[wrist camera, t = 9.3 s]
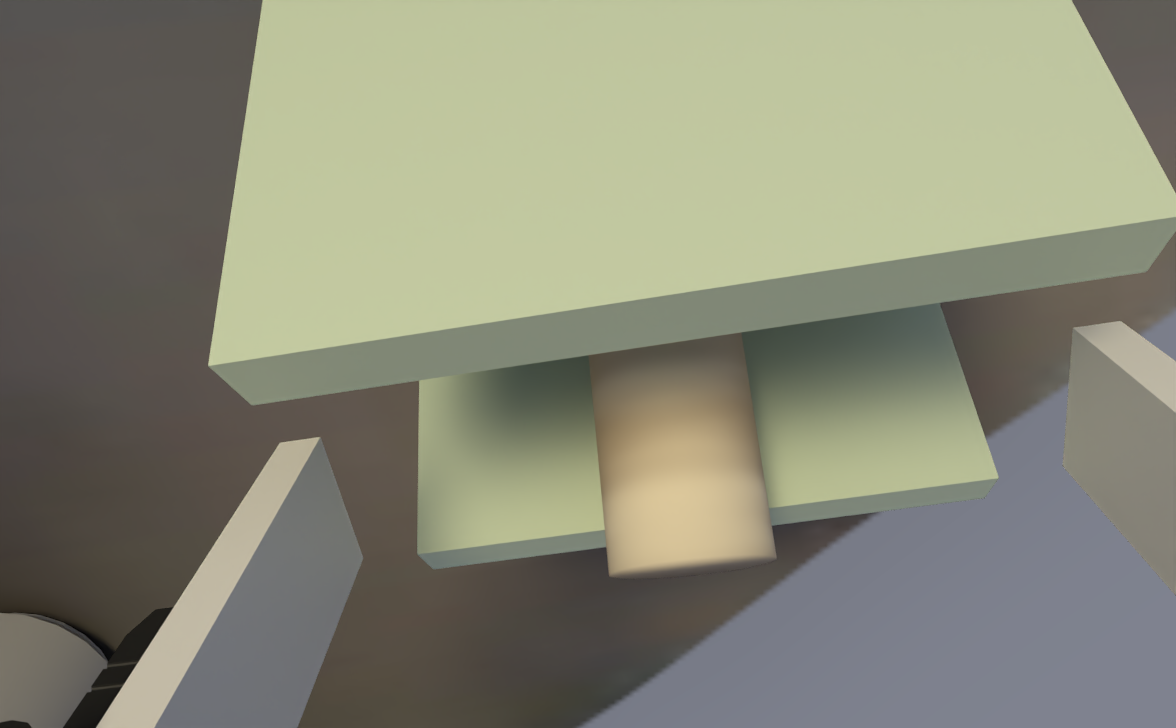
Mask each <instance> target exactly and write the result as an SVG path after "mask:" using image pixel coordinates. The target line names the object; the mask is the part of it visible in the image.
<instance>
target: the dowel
mask: <svg viewBox="0 0 1176 728" xmlns="http://www.w3.org/2000/svg"><path fill="white" fill-rule="evenodd" d="M589 366H590V377H591V387H592V398H593V409H594V420H595V430H596V441H597V452H598V462H599V473H600V484H601V494H602V505H603V516H604V527H605V537H606V548H607V559H608V569H609V576H610V577H613V578H619V579H656V578H672V577H684V576H695V575H704V574H712V573H720V572H727V571H733V570H739V569H745V568H750V567H755V566H759V565H763V564H767V563H770V562H773V561H775V560H776V559H777V556H776V550H775V543H774V537H773V531H772V524H771V518H770V512H769V505H768V499H767V493H766V486H765V480H764V474H763V467H762V461H761V455H760V448H759V442H758V436H757V429H756V423H755V417H754V410H753V404H752V398H751V391H750V385H749V379H748V372H747V366H746V360H745V353H744V347H743V341H742V334H741V332H740V333H734V334H727V335H720V336H714V337H707V338H700V339H694V340H687V341H680V342H673V343H667V344H660V345H653V346H647V347H640V348H633V349H627V350H620V351H613V352H606V353H600V354H593V355H589Z"/></svg>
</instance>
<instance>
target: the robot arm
mask: <svg viewBox="0 0 1176 728" xmlns="http://www.w3.org/2000/svg"><path fill="white" fill-rule="evenodd" d="M1063 467H1064V468H1065V469H1066V471H1067V472H1068V473H1069V474H1070V475H1071V476H1072V477H1073V479H1074V480H1075V481H1076V482H1077V483H1078V484H1079V485H1080V487H1081V488H1082V489H1083V490H1084V491H1085V492H1086V493H1087V495H1088V496H1089V497H1090V498H1091V499H1092V500H1093V501H1094V502H1095V504H1096V505H1097V506H1098V507H1099V508H1100V509H1101V510H1102V512H1103V513H1104V514H1105V515H1106V516H1107V517H1108V519H1109V520H1110V521H1111V522H1112V523H1113V524H1114V525H1115V527H1116V528H1117V529H1118V530H1119V531H1120V532H1121V534H1122V535H1123V536H1124V537H1125V538H1126V539H1127V540H1128V542H1129V543H1130V544H1131V545H1132V546H1133V547H1134V548H1135V550H1136V551H1137V552H1138V553H1139V554H1140V555H1141V556H1142V558H1143V559H1144V560H1145V561H1146V562H1147V563H1148V564H1149V566H1150V567H1151V568H1152V569H1153V570H1154V571H1155V572H1156V574H1157V575H1158V576H1159V577H1160V578H1161V579H1162V580H1163V582H1164V583H1165V584H1166V585H1167V586H1168V587H1169V588H1170V590H1171V591H1172V592H1173V593H1174V594H1175V595H1176V361H1174V360H1173V359H1171V358H1170V357H1169V356H1168V355H1166V354H1165V353H1163V352H1162V351H1161V350H1159V349H1158V348H1157V347H1155V346H1154V345H1153V344H1151V343H1150V342H1148V341H1147V340H1146V339H1144V338H1143V337H1142V336H1140V335H1139V334H1138V333H1136V332H1135V331H1134V330H1132V329H1131V328H1129V327H1128V326H1127V325H1125V324H1124V323H1123V322H1121V321H1118V322H1111V323H1104V324H1097V325H1090V326H1083V327H1076V328H1073V336H1072V349H1071V363H1070V376H1069V389H1068V404H1067V417H1066V429H1065V443H1064V457H1063ZM362 560H363V556H362V553H361V550H360V548H359V545H358V542H357V539H356V536H355V533H354V531H353V528H352V525H351V522H350V519H349V517H348V514H347V511H346V508H345V505H344V502H343V500H342V497H341V494H340V491H339V488H338V485H337V483H336V480H335V477H334V474H333V471H332V469H331V466H330V463H329V460H328V457H327V454H326V452H325V449H324V446H323V443H322V440H321V437H317V438H310V439H303V440H296V441H289V442H282V443H279V445H278V447H277V448H276V450H275V451H274V453H273V454H272V456H271V457H270V459H269V460H268V462H267V464H266V465H265V467H264V468H263V470H262V471H261V473H260V474H259V476H258V478H257V479H256V481H255V482H254V484H253V485H252V487H251V488H250V490H249V491H248V493H247V495H246V496H245V498H244V499H243V501H242V502H241V504H240V505H239V507H238V509H237V510H236V512H235V513H234V515H233V516H232V518H231V519H230V521H229V522H228V524H227V526H226V527H225V529H224V530H223V532H222V533H221V535H220V536H219V538H218V540H217V541H216V543H215V544H214V546H213V547H212V549H211V550H210V552H209V553H208V555H207V557H206V558H205V560H204V561H203V563H202V564H201V566H200V567H199V569H198V571H197V572H196V574H195V575H194V577H193V578H192V580H191V581H190V583H189V584H188V586H187V588H186V589H185V591H184V592H183V594H182V595H181V597H180V598H179V600H178V602H177V603H176V605H175V606H174V607H172V608H164V609H156V610H155V611H153V612H152V613H151V614H150V615H149V616H148V617H147V618H145V619H144V620H143V621H142V622H141V623H140V624H139V625H138V626H136V627H135V628H134V629H133V630H132V631H131V632H130V633H128V634H127V635H126V636H125V638H124V639H123V641H122V642H121V644H120V645H119V647H118V648H117V650H116V651H115V652H114V654H113V655H112V657H111V658H110V660H109V661H108V663H107V669H103V670H102V671H101V673H100V674H99V676H98V677H97V679H96V680H95V681H94V683H93V684H92V686H91V688H92V690H91V692H87V693H86V695H85V696H84V697H83V699H82V700H81V702H80V703H79V705H78V706H77V708H76V709H75V711H74V712H73V713H72V715H71V716H70V718H69V719H68V721H67V722H66V724H65V725H64V727H63V728H297V727H298V724H299V722H300V719H301V716H302V714H303V711H304V709H305V706H306V704H307V701H308V699H309V696H310V693H311V691H312V688H313V686H314V683H315V681H316V678H317V675H318V673H319V670H320V668H321V665H322V663H323V660H324V657H325V655H326V652H327V650H328V647H329V645H330V642H331V640H332V637H333V634H334V632H335V629H336V627H337V624H338V622H339V619H340V616H341V614H342V611H343V609H344V606H345V604H346V601H347V598H348V596H349V593H350V591H351V588H352V586H353V583H354V581H355V578H356V575H357V573H358V570H359V568H360V565H361V563H362ZM0 728H32V727H31V726H30V725H29V723H27V722H21V721H15V720H10V721H5V722H0Z"/></svg>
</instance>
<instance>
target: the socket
mask: <svg viewBox="0 0 1176 728" xmlns="http://www.w3.org/2000/svg"><path fill="white" fill-rule="evenodd" d="M1175 231H1176V193H1175V192H1174V190H1173V188H1172V186H1171V184H1170V182H1169V180H1168V179H1167V177H1166V175H1165V173H1164V171H1163V169H1162V167H1161V166H1160V164H1159V162H1158V160H1157V158H1156V156H1155V154H1154V153H1153V151H1152V149H1151V147H1150V145H1149V143H1148V142H1147V140H1146V138H1145V136H1144V134H1143V132H1142V130H1141V129H1140V127H1139V125H1138V123H1137V121H1136V119H1135V117H1134V116H1133V114H1132V112H1131V110H1130V108H1129V106H1128V104H1127V103H1126V101H1125V99H1124V97H1123V95H1122V93H1121V91H1120V90H1119V88H1118V86H1117V84H1116V82H1115V80H1114V78H1113V77H1112V75H1111V73H1110V71H1109V69H1108V67H1107V65H1106V64H1105V62H1104V60H1103V58H1102V56H1101V54H1100V52H1099V51H1098V49H1097V47H1096V45H1095V43H1094V41H1093V39H1092V38H1091V36H1090V34H1089V32H1088V30H1087V28H1086V26H1085V25H1084V23H1083V21H1082V19H1081V17H1080V15H1079V14H1078V12H1077V10H1076V8H1075V6H1074V4H1073V2H1072V1H1071V0H263V3H262V10H261V16H260V23H259V30H258V37H257V43H256V50H255V57H254V63H253V70H252V77H251V83H250V90H249V97H248V103H247V110H246V117H245V123H244V130H243V137H242V144H241V150H240V157H239V164H238V170H237V177H236V184H235V190H234V197H233V204H232V210H231V217H230V224H229V230H228V237H227V244H226V251H225V257H224V264H223V271H222V277H221V284H220V291H219V297H218V304H217V311H216V317H215V324H214V331H213V338H212V344H211V351H210V358H209V364H208V366H209V367H210V368H211V369H212V370H213V371H214V372H215V373H217V374H218V375H219V376H220V377H221V378H222V379H223V380H224V381H225V382H227V383H228V384H229V385H230V386H231V387H232V388H233V389H234V390H235V391H237V392H238V393H239V394H240V395H241V396H242V397H243V398H244V399H245V400H246V401H248V402H249V403H250V404H251V405H258V404H265V403H272V402H278V401H285V400H292V399H298V398H305V397H312V396H318V395H325V394H332V393H338V392H345V391H352V390H359V389H365V388H372V387H379V386H385V385H392V384H399V383H405V382H412V381H419V450H418V532H417V555H418V556H420V557H421V558H422V559H423V560H424V561H425V562H426V563H427V564H428V565H430V566H431V567H432V568H433V569H440V568H448V567H455V566H463V565H471V564H479V563H486V562H494V561H502V560H510V559H517V558H525V557H533V556H541V555H548V554H556V553H564V552H572V551H579V550H587V549H595V548H603V547H606V537H605V527H604V516H603V505H602V494H601V484H600V473H599V462H598V452H597V441H596V430H595V420H594V409H593V398H592V387H591V377H590V366H589V355H593V354H600V353H606V352H613V351H620V350H627V349H633V348H640V347H647V346H653V345H660V344H667V343H673V342H680V341H687V340H694V339H700V338H707V337H714V336H720V335H727V334H734V333H740V332H741V334H742V341H743V347H744V353H745V360H746V366H747V372H748V379H749V385H750V391H751V398H752V404H753V410H754V417H755V423H756V429H757V436H758V442H759V448H760V455H761V461H762V467H763V474H764V480H765V486H766V493H767V499H768V505H769V512H770V518H771V524H772V526H773V525H781V524H788V523H796V522H804V521H812V520H819V519H827V518H835V517H842V516H850V515H858V514H866V513H873V512H881V511H889V510H896V509H904V508H912V507H920V506H928V505H935V504H942V503H950V502H959V501H966V500H974V499H982V498H985V497H986V496H987V494H988V493H989V491H990V490H991V488H992V487H993V486H994V484H995V483H996V482H997V480H998V478H999V477H998V474H997V471H996V468H995V465H994V462H993V459H992V457H991V453H990V450H989V448H988V445H987V442H986V439H985V436H984V433H983V430H982V427H981V424H980V421H979V418H978V415H977V412H976V409H975V406H974V403H973V400H972V397H971V394H970V391H969V389H968V386H967V383H966V380H965V377H964V374H963V371H962V368H961V365H960V362H959V359H958V356H957V353H956V350H955V347H954V344H953V341H952V338H951V335H950V332H949V330H948V327H947V324H946V321H945V318H944V315H943V312H942V309H941V306H940V303H941V302H948V301H955V300H961V299H968V298H975V297H982V296H988V295H995V294H1002V293H1008V292H1015V291H1022V290H1028V289H1035V288H1042V287H1049V286H1055V285H1062V284H1069V283H1075V282H1082V281H1089V280H1095V279H1102V278H1109V277H1116V276H1122V275H1129V274H1136V273H1142V272H1147V270H1148V269H1149V268H1150V266H1151V265H1152V263H1153V262H1154V261H1155V259H1156V258H1157V256H1158V255H1159V254H1160V252H1161V251H1162V249H1163V248H1164V247H1165V245H1166V244H1167V242H1168V241H1169V240H1170V238H1171V237H1172V235H1173V234H1174V233H1175Z"/></svg>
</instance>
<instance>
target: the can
mask: <svg viewBox="0 0 1176 728" xmlns="http://www.w3.org/2000/svg"><path fill="white" fill-rule="evenodd" d="M107 663H108V660H107V659H106V657H105V655H104V654H103V652H102V650H101V649H100V648H98V647H97V646H96V645H95V644H94V643H93V642H92V641H91V640H90V639H89V638H88V637H87V636H86V635H84V634H83V633H81V632H79V631H77V630H76V629H74V628H72V627H71V626H69V625H67V624H65V623H64V622H61V621H57V620H54V619H51V618H48V617H45V616H42V615H37V614H26V613H16V612H15V613H9V614H8V613H0V722H5V721H10V720H15V721H21V722H27V723H29V725H30V726H31V727H32V728H63V727H64V725H65V724H66V722H67V721H68V719H69V718H70V716H71V715H72V713H73V712H74V711H75V709H76V708H77V706H78V705H79V703H80V702H81V700H82V699H83V697H84V696H85V695H86V693H87V692H91V690H92V688H91V686H92V684H93V683H94V681H95V680H96V679H97V677H98V676H99V674H100V673H101V671H102V670H103V669H107Z"/></svg>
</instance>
